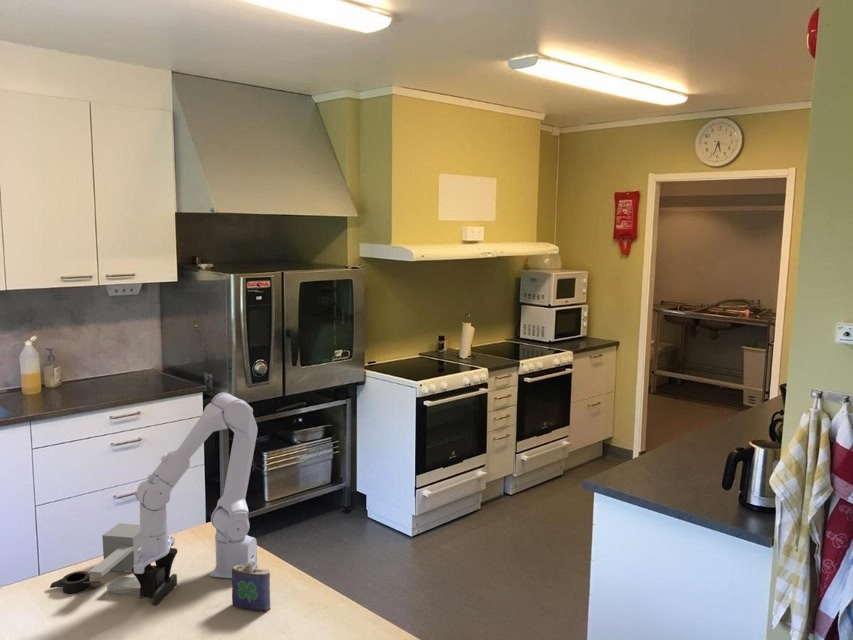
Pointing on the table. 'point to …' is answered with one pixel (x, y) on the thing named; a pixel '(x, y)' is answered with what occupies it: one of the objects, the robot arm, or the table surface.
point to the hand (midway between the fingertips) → (156, 587)
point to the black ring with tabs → (74, 582)
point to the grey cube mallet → (119, 549)
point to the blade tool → (133, 588)
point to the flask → (250, 588)
